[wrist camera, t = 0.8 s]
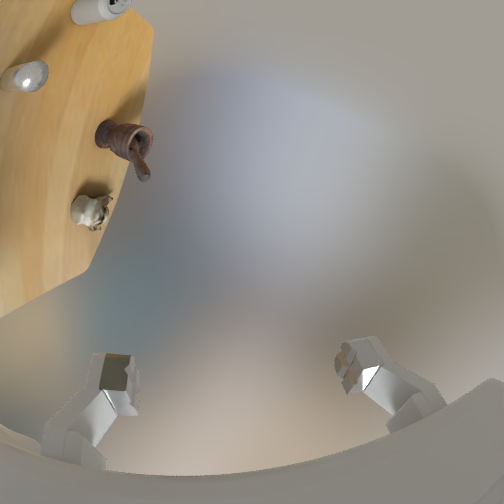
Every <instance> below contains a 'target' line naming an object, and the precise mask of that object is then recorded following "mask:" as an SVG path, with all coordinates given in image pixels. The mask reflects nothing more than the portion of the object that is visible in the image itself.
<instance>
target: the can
mask: <svg viewBox="0 0 504 504" xmlns="http://www.w3.org/2000/svg"><path fill="white" fill-rule="evenodd" d="M131 1H132V0H76V1H75V2H74V4H73V6H72V9H71V18H72V20H73V22H74V23H76V24H78V25H88V24H93V23H97V22H102V21H108V20H113V19H116V18H118V17H120V16H121V15H122V14H124V13H125V12H126V11H127V10H128V9H129V7H130V4H131Z"/></svg>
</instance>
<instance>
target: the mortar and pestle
mask: <svg viewBox="0 0 504 504" xmlns="http://www.w3.org/2000/svg"><path fill="white" fill-rule="evenodd" d="M95 142H96V144H97V146H98V147H100V148H110V150H111V151H112V152H114V153H115V154H116V155H117V156H119V157H121V158H123V159H126V160H128V161H131V162H133V163H134V167H135V171H136V174H137V177H138V178H139V180H140V181H142V182H145V181H148V180H149V179H150V171H149V169H148V167H147V165H146V163H145V162H144V161H143V159H144V158H145V157H146V156H147V154H148V153H149V151H150V149H151V146H152V142H153V135H152V132H151V130H150V129H149V128H147V127H144V126H140V125H136V124H129V123H126V124H120V125H117V124H116V123H114V122H113V121H110V120H107V121H104V122H102V123H101V124H100V126H99V127H98V129H97V131H96V134H95Z"/></svg>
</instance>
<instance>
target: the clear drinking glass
mask: <svg viewBox="0 0 504 504" xmlns="http://www.w3.org/2000/svg"><path fill="white" fill-rule="evenodd" d="M48 73H49V70H48V66H47V64H46V63H45V62H43V61H40V60H37V61H33V62H28V63H24V64H20V65H16V66H12V67H10V68H8V69H7V70H6V71H5V72H4V73H3V75H2V77H1V80H0V86H1V89H2V90H3V91H5V92H34V91H37V90H39V89H40V88H41V87H42V86H43V85H44V84H45V82H46V80H47V78H48Z"/></svg>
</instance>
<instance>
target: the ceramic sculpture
mask: <svg viewBox="0 0 504 504" xmlns="http://www.w3.org/2000/svg"><path fill="white" fill-rule="evenodd" d="M111 200H113V198H111V197H110V196H108V195H106V194H103V195H100V196H98V197H97V198H94V199H92V198H89V197H88V196H87V195H80V196H78V197H77V198H76V199H75V201H74V202H73V203H72V205H71V218H72V220H73V221H74V222H75V224H77V225H78V224H84V225H85V226H88V228H89V230H90V231H95V230H101V227H100V226H102V225H103V224H104V223H105V222H106V220H107V218H108V215H109V210H108V207H107V205H108V203H109V202H110V201H111Z"/></svg>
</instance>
